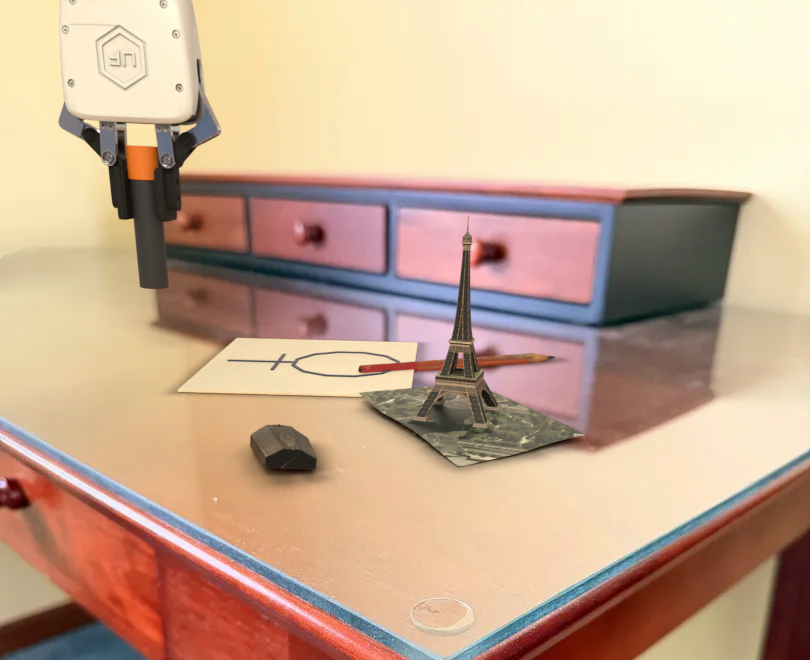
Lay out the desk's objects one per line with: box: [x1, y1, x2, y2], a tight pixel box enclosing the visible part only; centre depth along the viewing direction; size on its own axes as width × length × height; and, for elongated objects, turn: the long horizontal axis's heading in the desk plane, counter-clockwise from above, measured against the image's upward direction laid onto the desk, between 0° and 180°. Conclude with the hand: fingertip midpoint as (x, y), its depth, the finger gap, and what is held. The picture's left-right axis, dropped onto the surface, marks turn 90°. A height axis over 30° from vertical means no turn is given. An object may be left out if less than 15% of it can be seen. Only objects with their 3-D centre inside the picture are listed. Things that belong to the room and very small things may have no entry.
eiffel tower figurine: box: [359, 215, 588, 468], centre depth 54 cm, size 15×10×13 cm
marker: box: [125, 144, 170, 290], centre depth 68 cm, size 3×3×11 cm
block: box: [249, 423, 318, 471], centre depth 49 cm, size 4×6×2 cm, turn 18°
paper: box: [177, 337, 419, 398], centre depth 72 cm, size 18×20×1 cm
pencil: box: [358, 352, 556, 373], centre depth 72 cm, size 19×1×1 cm, turn 111°
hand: (148, 217), depth 68 cm, fingers closed on marker, 2 cm apart
